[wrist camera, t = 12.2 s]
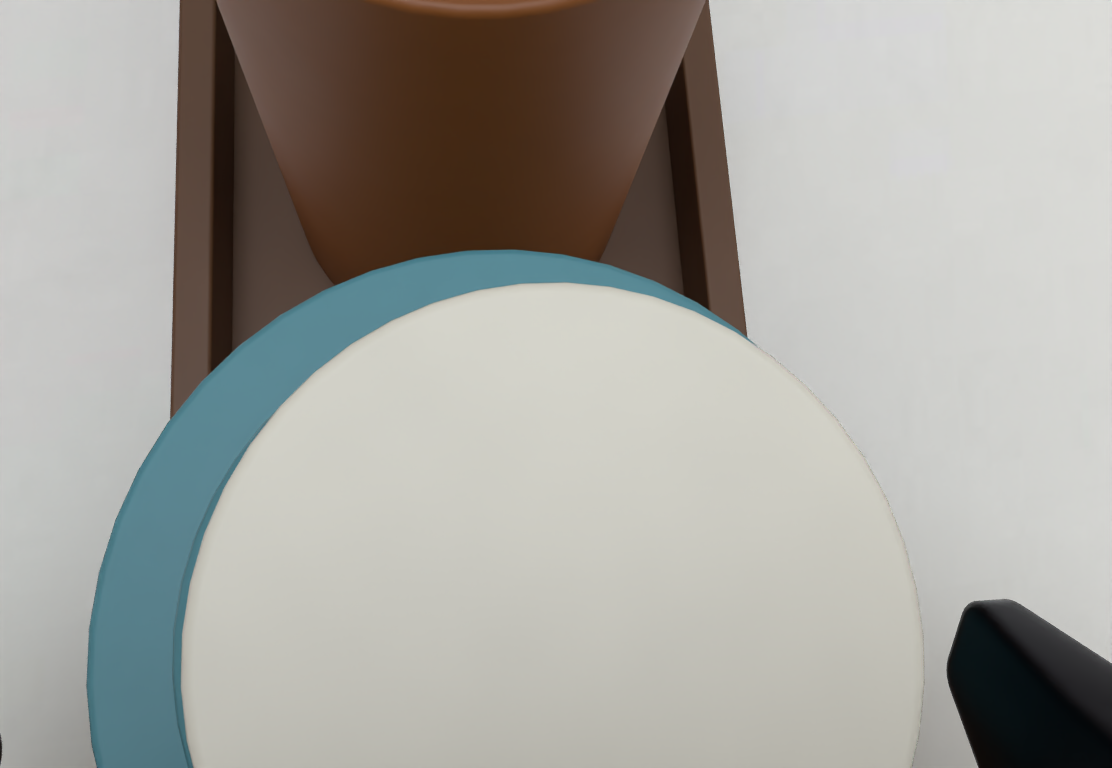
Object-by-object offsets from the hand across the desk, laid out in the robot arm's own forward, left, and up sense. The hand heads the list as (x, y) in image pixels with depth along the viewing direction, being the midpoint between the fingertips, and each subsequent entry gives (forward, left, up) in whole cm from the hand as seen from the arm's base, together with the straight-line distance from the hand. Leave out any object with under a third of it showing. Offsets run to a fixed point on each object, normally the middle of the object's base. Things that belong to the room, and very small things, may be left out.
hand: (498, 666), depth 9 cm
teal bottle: (0, 0, -7) cm, 7 cm away
